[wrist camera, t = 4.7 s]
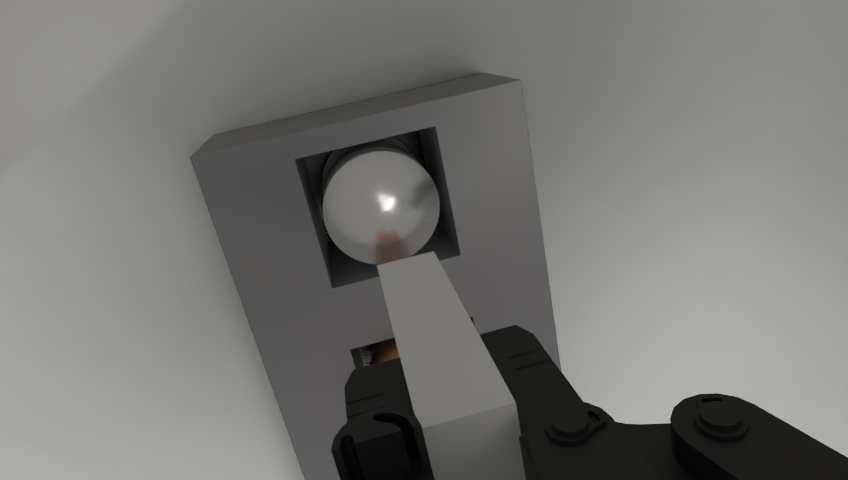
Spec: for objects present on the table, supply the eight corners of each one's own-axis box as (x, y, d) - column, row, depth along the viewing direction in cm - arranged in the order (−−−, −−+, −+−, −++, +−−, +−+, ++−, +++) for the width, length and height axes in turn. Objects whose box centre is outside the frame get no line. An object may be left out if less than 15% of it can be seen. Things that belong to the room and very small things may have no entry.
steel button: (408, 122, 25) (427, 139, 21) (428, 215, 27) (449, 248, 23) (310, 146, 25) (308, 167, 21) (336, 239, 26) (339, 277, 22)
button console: (483, 72, 25) (520, 80, 21) (547, 470, 34) (584, 540, 29) (214, 134, 24) (189, 157, 20) (348, 530, 33) (352, 612, 28)
